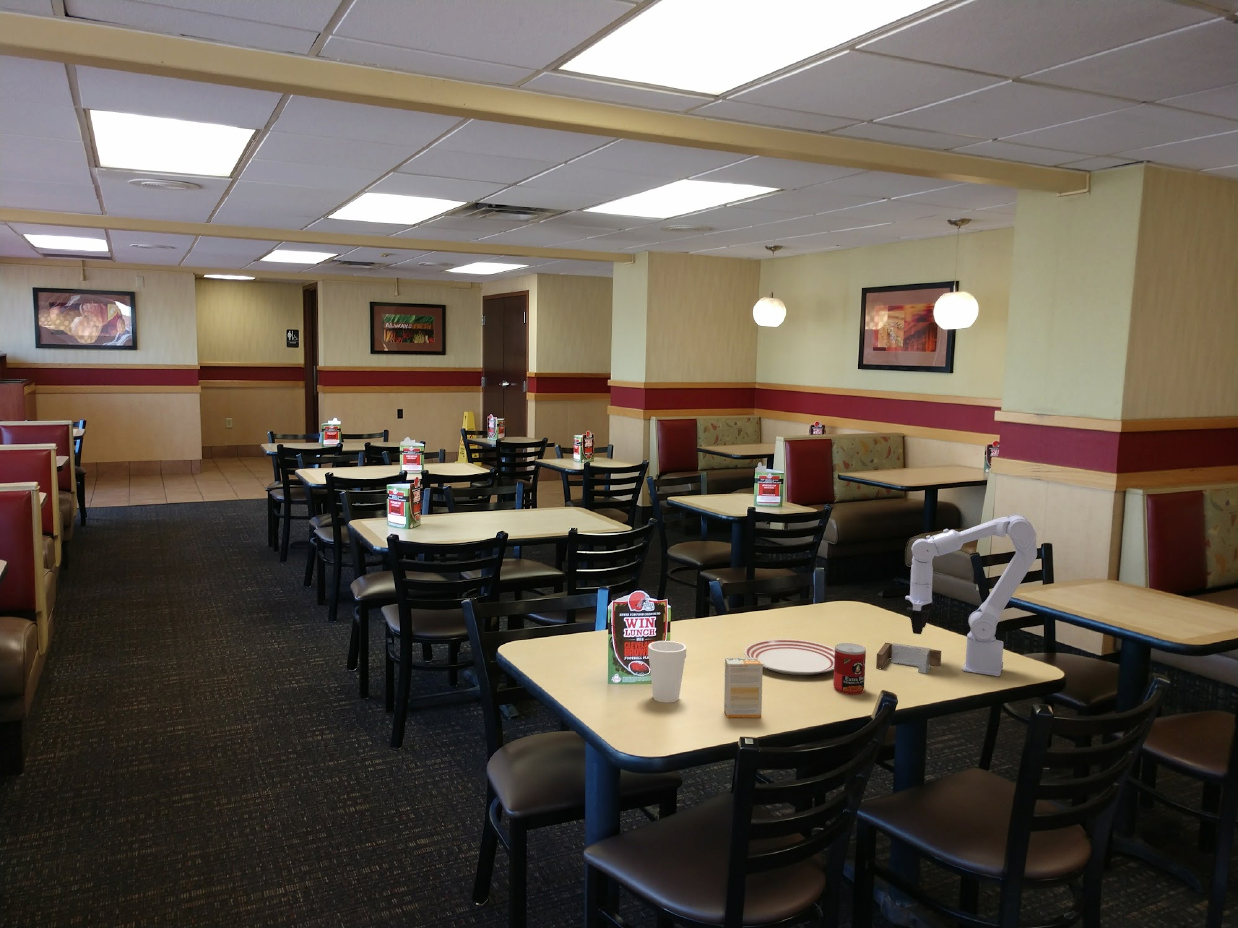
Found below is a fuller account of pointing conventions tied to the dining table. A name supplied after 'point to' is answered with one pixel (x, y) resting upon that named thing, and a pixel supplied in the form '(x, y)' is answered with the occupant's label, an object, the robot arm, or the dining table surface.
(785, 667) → the dinner plate
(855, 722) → the dining table surface
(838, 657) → the canned food
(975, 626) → the robot arm
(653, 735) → the dining table surface
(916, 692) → the dining table surface
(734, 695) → the supplement box
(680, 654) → the foam cup
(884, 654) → the brown wooden l-shape
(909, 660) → the bracket
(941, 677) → the dining table surface
